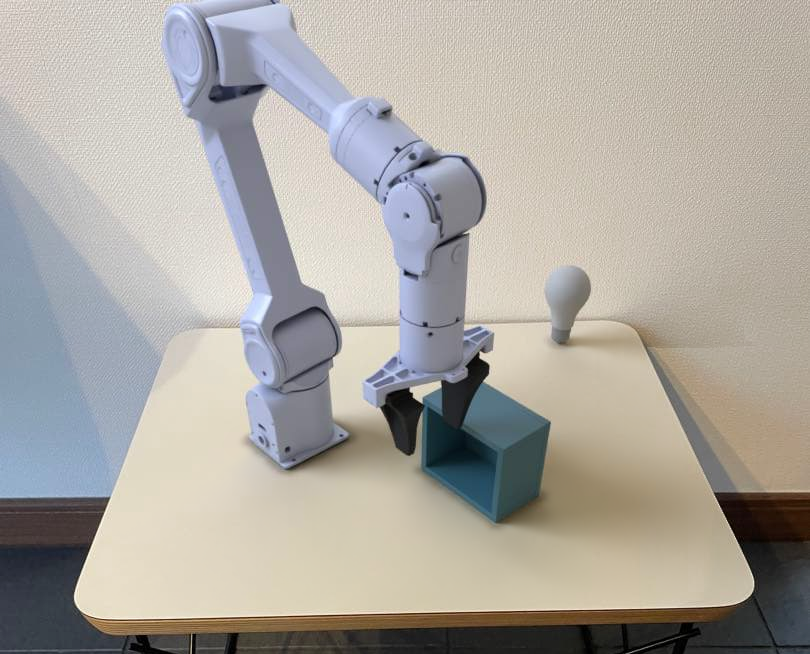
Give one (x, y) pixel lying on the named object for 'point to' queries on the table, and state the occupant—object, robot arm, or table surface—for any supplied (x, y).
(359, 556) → the table surface
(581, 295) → the lightbulb
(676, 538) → the table surface
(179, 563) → the table surface
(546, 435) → the teal open box
